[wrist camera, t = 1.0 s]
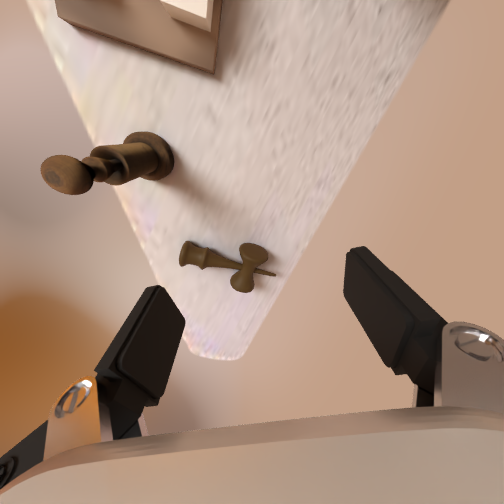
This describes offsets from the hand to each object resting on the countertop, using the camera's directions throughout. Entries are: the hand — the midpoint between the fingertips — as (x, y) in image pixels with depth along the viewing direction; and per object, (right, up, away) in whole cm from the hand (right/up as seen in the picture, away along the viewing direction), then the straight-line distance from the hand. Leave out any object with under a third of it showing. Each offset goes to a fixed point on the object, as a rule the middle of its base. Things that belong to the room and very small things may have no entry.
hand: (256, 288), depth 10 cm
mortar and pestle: (-16, +17, +20) cm, 31 cm away
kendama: (-5, +1, +31) cm, 31 cm away
